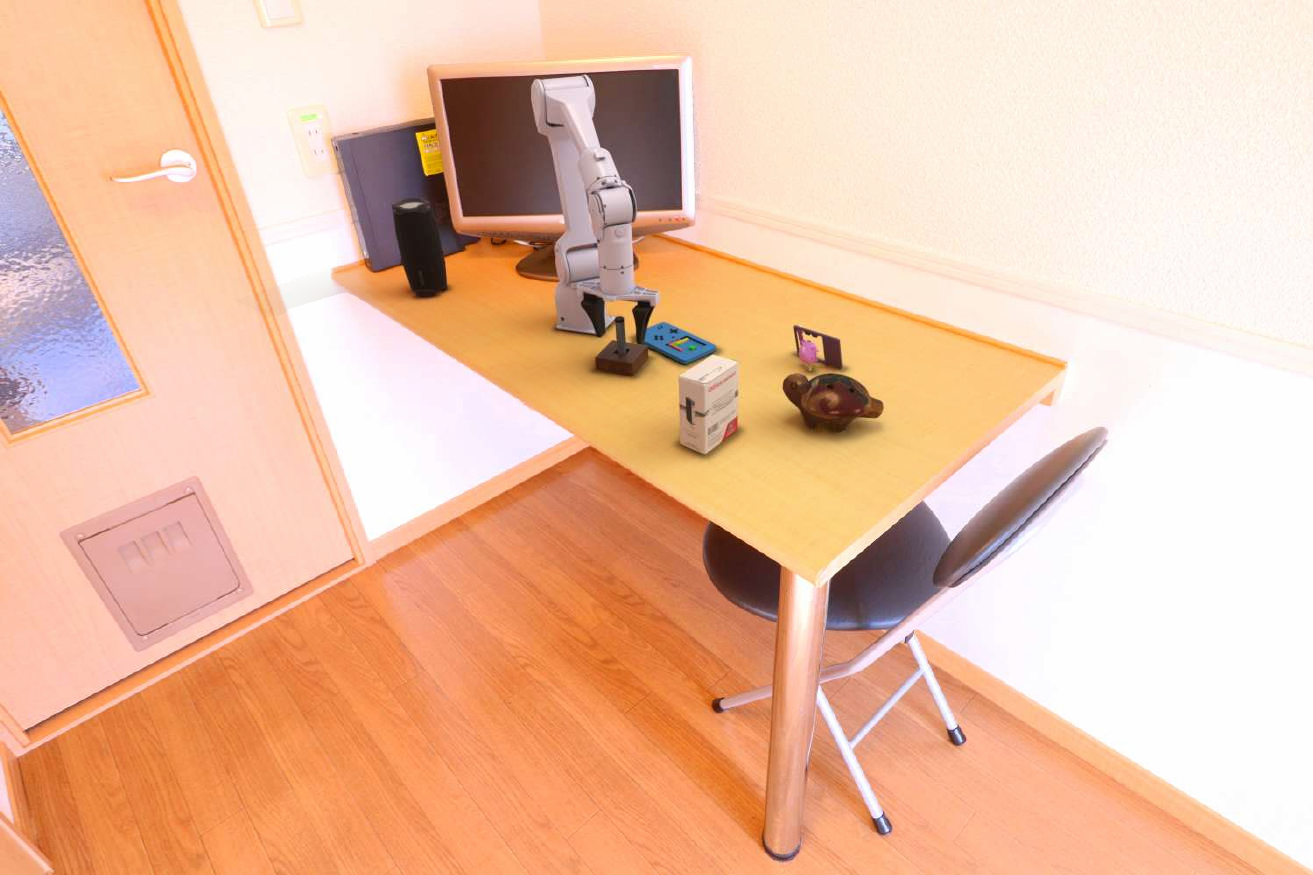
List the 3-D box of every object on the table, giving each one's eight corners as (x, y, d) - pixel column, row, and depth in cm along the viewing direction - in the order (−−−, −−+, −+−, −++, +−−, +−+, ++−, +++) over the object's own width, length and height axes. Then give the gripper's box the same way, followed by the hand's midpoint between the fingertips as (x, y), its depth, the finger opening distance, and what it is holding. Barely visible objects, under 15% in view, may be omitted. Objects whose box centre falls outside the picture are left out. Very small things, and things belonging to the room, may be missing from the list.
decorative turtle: (776, 404, 115) (783, 359, 110) (871, 412, 114) (882, 367, 109) (779, 435, 106) (786, 387, 102) (882, 444, 105) (894, 396, 101)
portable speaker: (423, 281, 164) (404, 195, 153) (458, 286, 161) (441, 197, 150) (400, 295, 157) (379, 206, 146) (437, 300, 154) (417, 209, 144)
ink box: (712, 419, 112) (713, 351, 105) (738, 430, 109) (741, 361, 102) (678, 444, 106) (676, 374, 100) (704, 456, 104) (705, 385, 97)
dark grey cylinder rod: (616, 365, 127) (613, 319, 122) (620, 361, 128) (617, 315, 123) (625, 367, 127) (622, 320, 122) (628, 363, 128) (625, 316, 123)
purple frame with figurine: (842, 336, 119) (796, 322, 124) (825, 356, 117) (779, 341, 122) (845, 365, 124) (800, 350, 129) (829, 384, 122) (784, 368, 127)
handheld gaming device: (663, 319, 140) (718, 344, 130) (663, 325, 140) (718, 350, 131) (630, 333, 135) (684, 359, 126) (631, 338, 136) (685, 365, 126)
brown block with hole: (596, 370, 126) (595, 357, 125) (612, 352, 132) (612, 339, 130) (633, 376, 124) (632, 363, 122) (648, 358, 129) (648, 345, 128)
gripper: (565, 267, 116) (573, 342, 124) (647, 277, 112) (650, 354, 119) (584, 252, 122) (591, 325, 129) (663, 261, 117) (665, 336, 125)
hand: (620, 338), depth 125 cm, fingers open, 7 cm apart
